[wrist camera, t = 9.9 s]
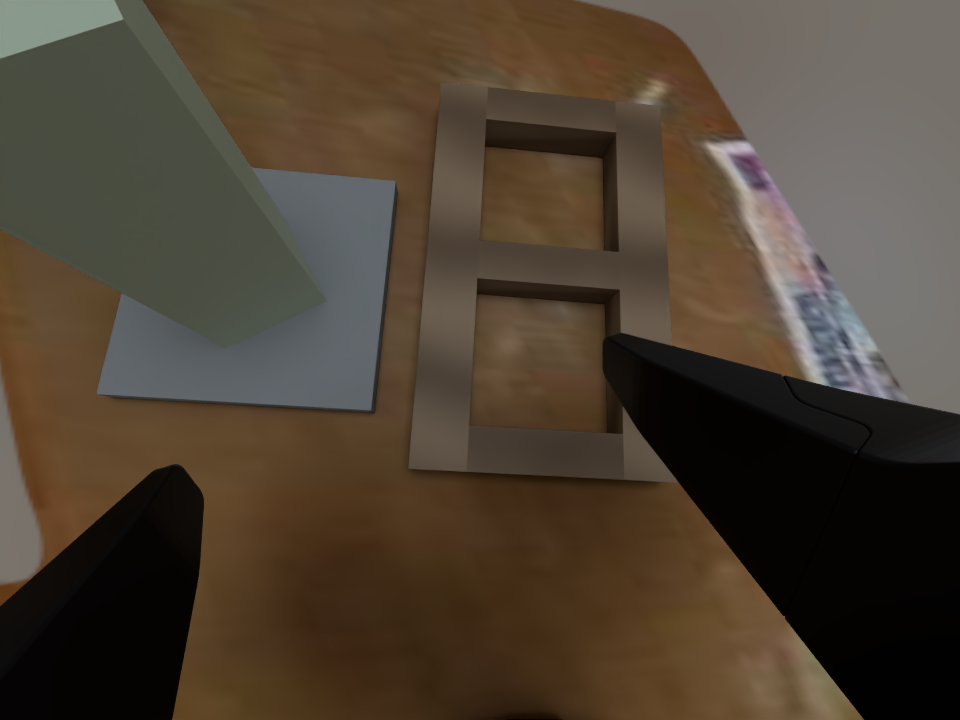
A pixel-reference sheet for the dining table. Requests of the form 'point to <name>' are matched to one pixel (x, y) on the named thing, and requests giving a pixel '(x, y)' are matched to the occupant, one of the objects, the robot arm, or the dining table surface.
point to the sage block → (137, 172)
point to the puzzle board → (537, 276)
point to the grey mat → (294, 342)
